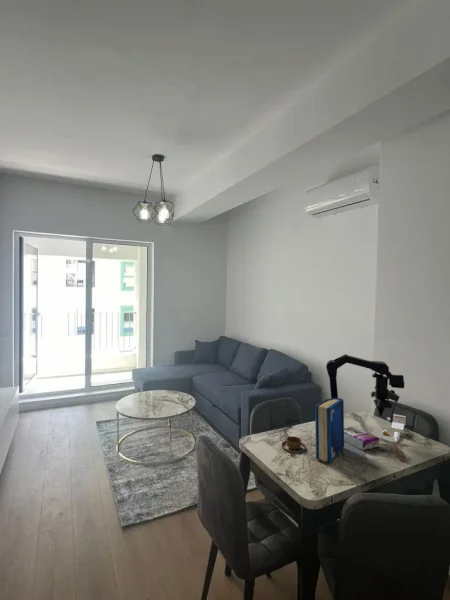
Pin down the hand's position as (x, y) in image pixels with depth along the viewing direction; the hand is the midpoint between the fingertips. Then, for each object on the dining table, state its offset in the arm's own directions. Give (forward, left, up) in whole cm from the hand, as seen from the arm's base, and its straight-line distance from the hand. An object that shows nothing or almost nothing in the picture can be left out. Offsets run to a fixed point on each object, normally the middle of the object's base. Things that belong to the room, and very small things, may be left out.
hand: (380, 415), depth 174 cm
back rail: (+4, -15, -13) cm, 20 cm away
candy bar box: (-7, -14, -10) cm, 18 cm away
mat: (-16, -16, -13) cm, 26 cm away
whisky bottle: (+11, +13, -14) cm, 22 cm away
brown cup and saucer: (-41, -23, -14) cm, 49 cm away
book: (-27, -23, -13) cm, 37 cm away
